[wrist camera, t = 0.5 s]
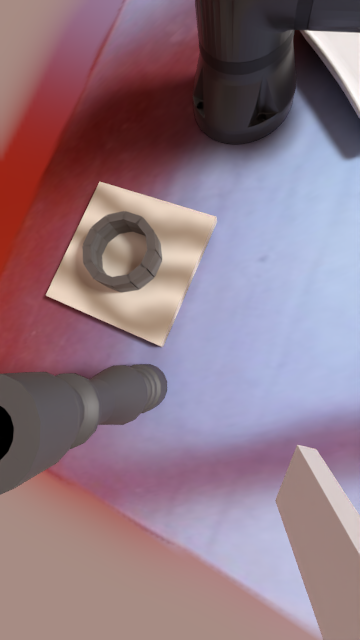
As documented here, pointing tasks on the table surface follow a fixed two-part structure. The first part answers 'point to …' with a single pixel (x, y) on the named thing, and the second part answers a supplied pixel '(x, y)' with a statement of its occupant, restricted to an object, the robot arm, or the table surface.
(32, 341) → the table surface
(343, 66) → the square plate
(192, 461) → the table surface
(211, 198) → the table surface
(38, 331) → the table surface
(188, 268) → the socket board
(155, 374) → the candle holder
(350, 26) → the robot arm
